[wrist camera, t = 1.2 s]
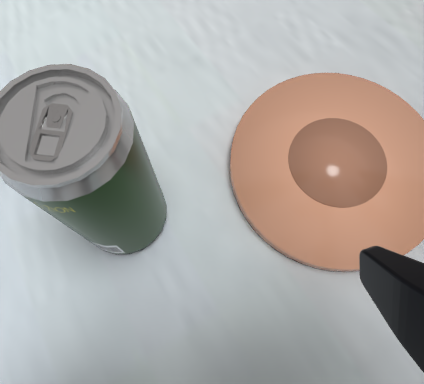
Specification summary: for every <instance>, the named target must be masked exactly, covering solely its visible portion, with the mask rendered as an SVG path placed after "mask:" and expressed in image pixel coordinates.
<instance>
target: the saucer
mask: <svg viewBox="0 0 424 384" xmlns="http://www.w3.org/2000/svg"><path fill="white" fill-rule="evenodd" d="M230 175H231V183H232V187H233V192H234V195H235V198H236V200H237V203H238V205H239V208H240V209H241V211H242V213H243V215H244V217H245V218H246V220H247V221H248V222H249V224H250V225H251V227H252V228H253V229H254V230H255V231H256V232H257V234H258V235H259V236H260V237H261V238H262V239H263V240H264V241H266V242H267V243H268V244H269V245H270V246H272V247H273V248H274V249H275V250H277V251H279V252H280V253H282V254H283V255H285V256H287V257H288V258H290V259H293V260H295V261H297V262H299V263H301V264H304V265H307V266H310V267H314V268H318V269H323V270H328V271H341V272H348V271H360V266H359V255H360V251H361V250H363V249H366V248H369V247H372V246H380V247H383V248H385V249H388V250H391V251H393V252H396V253H398V254H401V255H405V254H406V253H408V252H409V251H411V250H412V249H413V248H415V247H416V246H417V245H419V244H420V243H421V241H422V240H423V239H424V120H423V118H422V117H421V116H420V115H419V114H418V113H417V112H416V111H415V110H414V109H413V108H412V107H411V106H410V105H409V104H408V103H407V102H406V101H404V100H403V99H402V98H401V97H399V96H398V95H396V94H395V93H393V92H391V91H390V90H388V89H386V88H384V87H382V86H380V85H378V84H376V83H374V82H371V81H369V80H366V79H363V78H359V77H356V76H352V75H346V74H339V73H314V74H308V75H302V76H298V77H295V78H291V79H288V80H286V81H284V82H282V83H279V84H277V85H275V86H274V87H272V88H270V89H269V90H267V91H266V92H265V93H263V94H262V95H261V96H260V97H258V98H257V99H256V100H255V101H254V103H253V104H252V105H251V106H250V107H249V108H248V110H247V111H246V112H245V114H244V115H243V117H242V119H241V121H240V123H239V124H238V126H237V129H236V132H235V135H234V138H233V143H232V148H231V157H230Z"/></svg>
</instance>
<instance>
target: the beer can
mask: <svg viewBox="0 0 424 384" xmlns="http://www.w3.org/2000/svg"><path fill="white" fill-rule="evenodd" d="M0 176H1V177H2V179H3V181H4V182H5V183H6V184H7V185H8V186H10V187H11V188H13V189H14V190H15V191H17V192H18V193H19V194H21V195H22V196H24V197H25V198H27V199H28V200H30V201H31V202H33V203H34V204H35V205H37V206H38V207H40V208H41V209H43V210H44V211H46V212H47V213H49V214H50V215H52V216H53V217H55V218H56V219H58V220H59V221H61V222H62V223H63V224H65V225H66V226H68V227H69V228H71V229H72V230H74V231H75V232H77V233H78V234H80V235H81V236H83V237H84V238H86V239H87V240H89V241H90V242H92V243H93V244H94V245H96V246H97V247H99V248H100V249H102V250H104V251H107V252H110V253H114V254H130V253H133V252H136V251H139V250H142V249H144V248H145V247H146V246H148V245H149V244H150V243H152V242H153V241H154V240H155V239H156V237H157V236H158V235H159V233H160V232H161V231H162V229H163V226H164V223H165V220H166V202H165V199H164V196H163V193H162V191H161V188H160V186H159V183H158V180H157V178H156V175H155V173H154V170H153V168H152V165H151V163H150V160H149V157H148V155H147V152H146V150H145V147H144V145H143V142H142V140H141V137H140V134H139V132H138V129H137V127H136V124H135V122H134V119H133V116H132V114H131V111H130V109H129V106H128V105H127V103H126V102H125V101H124V100H123V98H122V97H121V96H120V95H119V93H118V92H117V91H116V90H114V89H113V88H112V86H111V85H110V84H109V83H108V82H107V80H106V79H105V78H103V77H102V76H100V75H98V74H97V73H95V72H94V71H92V70H90V69H88V68H84V67H80V66H76V65H72V64H59V65H47V66H44V67H40V68H37V69H33V70H30V71H28V72H26V73H24V74H22V75H21V76H19V77H17V78H15V79H14V80H12V81H10V82H9V83H8V84H7V85H6V86H5V87H4V88H3V89H2V90H1V91H0Z"/></svg>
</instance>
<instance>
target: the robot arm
mask: <svg viewBox="0 0 424 384" xmlns="http://www.w3.org/2000/svg"><path fill="white" fill-rule="evenodd" d="M359 266H360V279H361V281H362V284H363V285H364V287H365V289H366V290H367V292H368V293H369V295H370V297H371V298H372V300H373V301H374V303H375V304H376V306H377V308H378V309H379V311H380V312H381V314H382V316H383V317H384V319H385V320H386V322H387V324H388V325H389V327H390V328H391V330H392V331H393V333H394V334H395V336H396V337H397V339H398V340H399V342H400V343H401V344H402V346H403V347H404V348H405V349H406V351H407V352H408V353H409V355H410V356H411V357H412V358H413V360H414V361H415V362H416V364H417V365H418V366H419V367H420V369H421V370H422V371H423V372H424V263H422V262H419V261H417V260H414V259H411V258H409V257H406V256H404V255H401V254H398V253H396V252H393V251H391V250H388V249H385V248H383V247H380V246H372V247H369V248H366V249H363V250H361V251H360V255H359Z"/></svg>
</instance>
